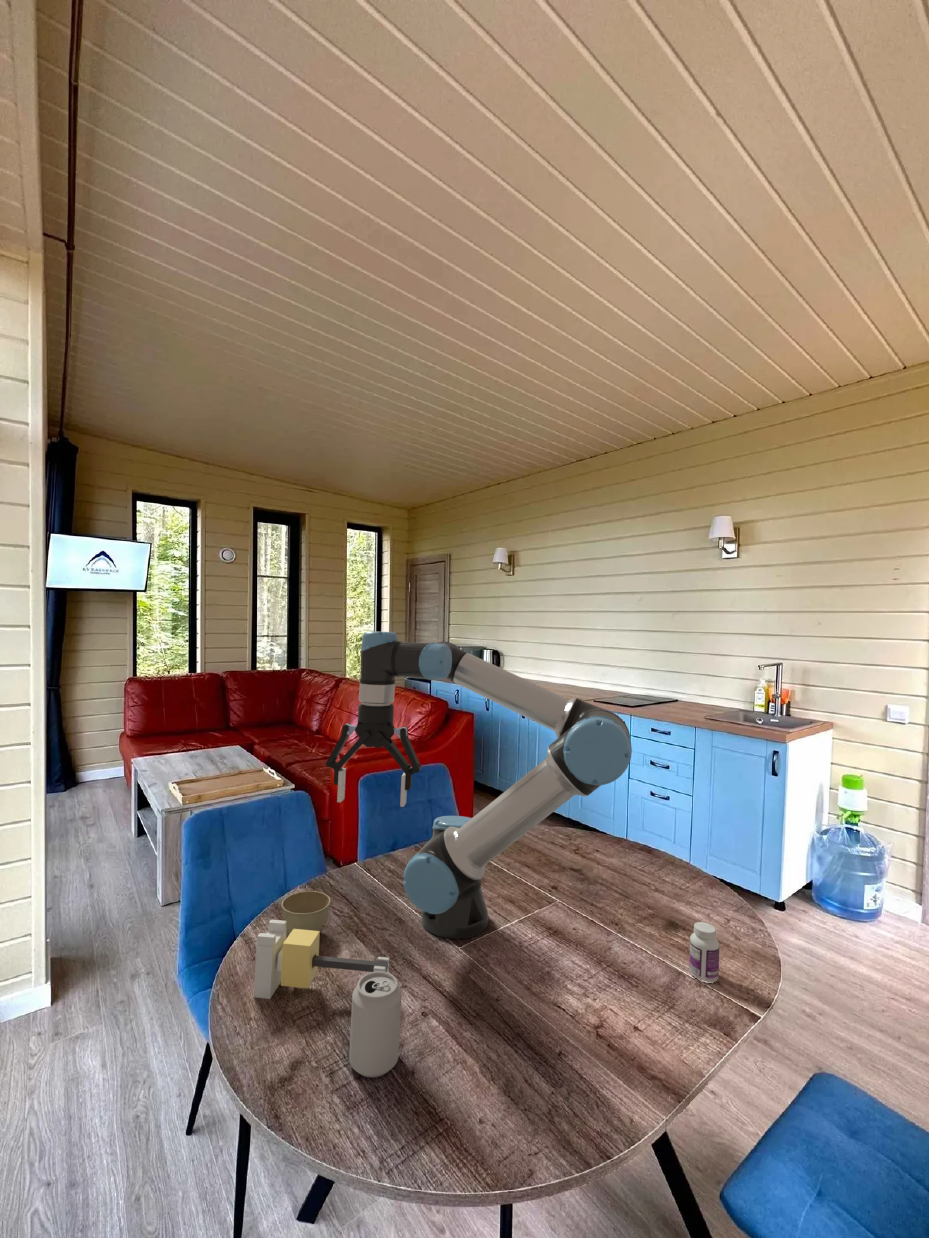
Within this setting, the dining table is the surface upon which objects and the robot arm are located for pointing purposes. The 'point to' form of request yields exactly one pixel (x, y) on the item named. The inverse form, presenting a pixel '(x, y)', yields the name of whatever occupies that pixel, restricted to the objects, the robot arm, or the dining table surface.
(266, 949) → the linear slide mechanism
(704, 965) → the pill bottle
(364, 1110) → the dining table surface
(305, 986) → the sleeve
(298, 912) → the flower pot
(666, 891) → the dining table surface
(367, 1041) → the can
